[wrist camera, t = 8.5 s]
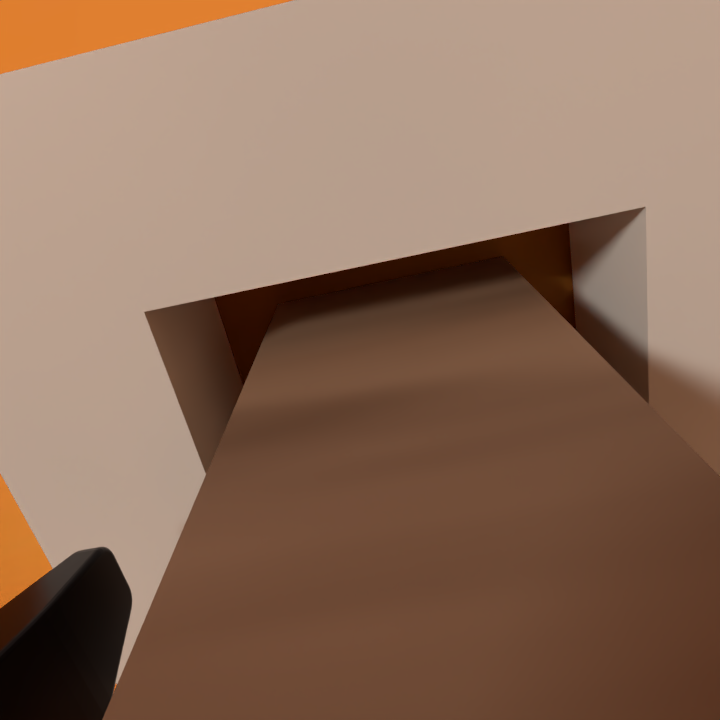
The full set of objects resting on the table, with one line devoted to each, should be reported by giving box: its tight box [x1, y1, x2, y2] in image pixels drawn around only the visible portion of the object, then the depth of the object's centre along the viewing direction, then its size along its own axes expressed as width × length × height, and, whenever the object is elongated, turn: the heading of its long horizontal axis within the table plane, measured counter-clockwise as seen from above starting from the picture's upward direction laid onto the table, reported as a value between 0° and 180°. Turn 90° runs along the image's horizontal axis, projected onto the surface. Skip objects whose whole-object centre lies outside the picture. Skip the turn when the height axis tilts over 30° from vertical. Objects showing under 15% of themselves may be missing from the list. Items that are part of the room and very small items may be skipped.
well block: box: [0, 0, 720, 684], centre depth 10 cm, size 12×12×3 cm
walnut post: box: [102, 256, 720, 720], centre depth 7 cm, size 4×4×9 cm
